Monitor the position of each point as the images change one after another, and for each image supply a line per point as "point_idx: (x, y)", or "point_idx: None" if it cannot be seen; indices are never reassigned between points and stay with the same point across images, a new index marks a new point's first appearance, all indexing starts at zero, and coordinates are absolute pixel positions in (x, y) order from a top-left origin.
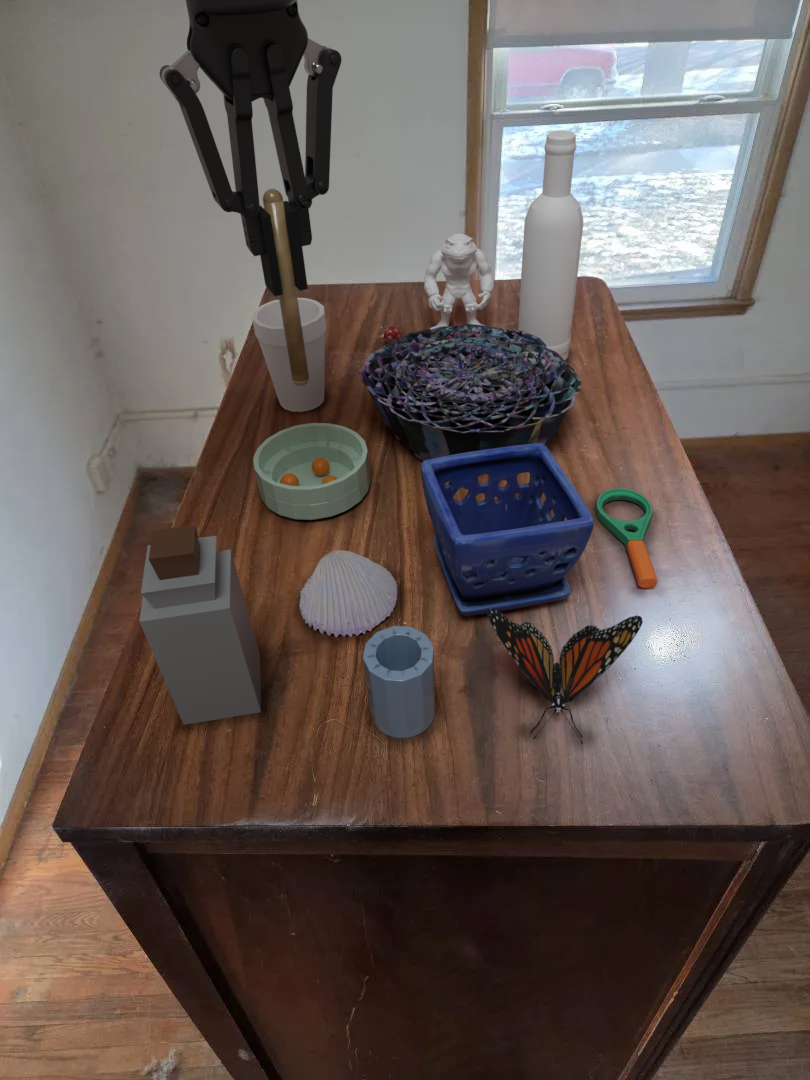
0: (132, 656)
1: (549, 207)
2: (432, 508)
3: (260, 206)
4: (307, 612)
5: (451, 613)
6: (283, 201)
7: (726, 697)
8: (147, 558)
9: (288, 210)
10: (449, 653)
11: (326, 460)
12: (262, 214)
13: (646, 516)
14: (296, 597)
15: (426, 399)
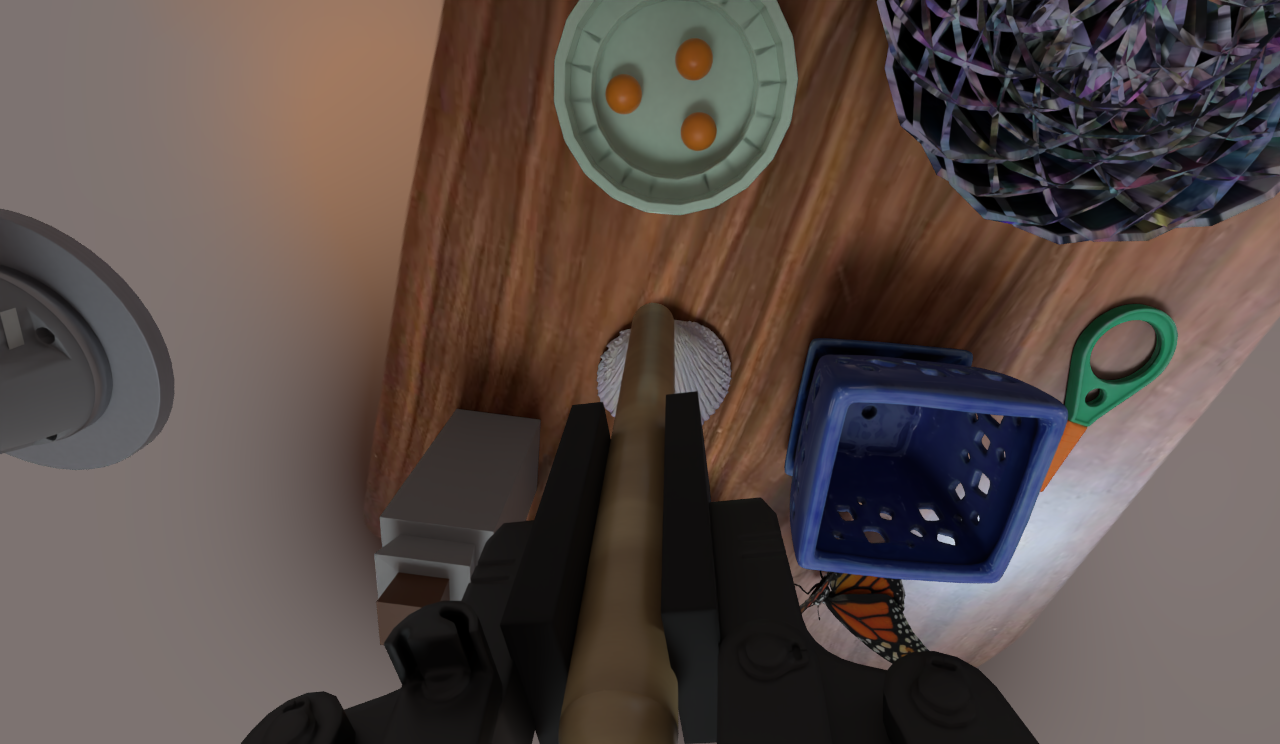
0: (388, 375)
1: None
2: (807, 463)
3: (550, 628)
4: (604, 399)
5: (779, 435)
6: (695, 608)
7: (981, 604)
8: (378, 574)
9: (689, 732)
10: (751, 484)
11: (708, 58)
12: (551, 726)
13: (1137, 383)
14: (596, 347)
15: (987, 47)
